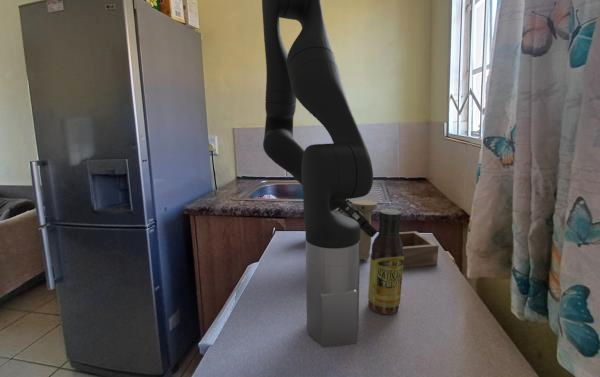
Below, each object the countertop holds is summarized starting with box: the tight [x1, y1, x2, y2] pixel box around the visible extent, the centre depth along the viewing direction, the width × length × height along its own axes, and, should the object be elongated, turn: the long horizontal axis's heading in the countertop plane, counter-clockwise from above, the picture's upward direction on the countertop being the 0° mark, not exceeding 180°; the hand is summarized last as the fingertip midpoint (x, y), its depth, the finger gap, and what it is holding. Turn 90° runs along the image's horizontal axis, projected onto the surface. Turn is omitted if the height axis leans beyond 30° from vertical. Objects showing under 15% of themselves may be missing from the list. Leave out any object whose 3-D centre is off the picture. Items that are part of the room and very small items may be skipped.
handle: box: [351, 199, 378, 260], centre depth 90 cm, size 5×6×15 cm
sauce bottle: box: [367, 208, 404, 315], centre depth 67 cm, size 6×6×20 cm
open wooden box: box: [399, 230, 439, 268], centre depth 92 cm, size 11×11×5 cm
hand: (371, 231), depth 90 cm, fingers closed on handle, 3 cm apart
